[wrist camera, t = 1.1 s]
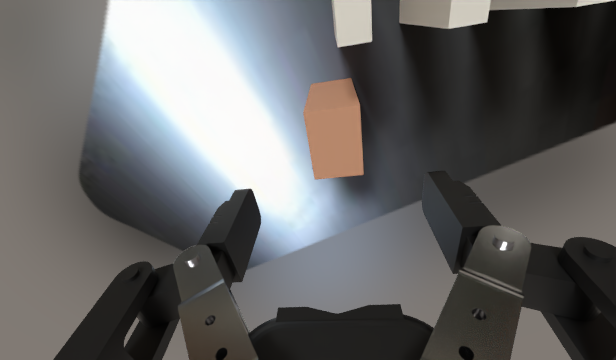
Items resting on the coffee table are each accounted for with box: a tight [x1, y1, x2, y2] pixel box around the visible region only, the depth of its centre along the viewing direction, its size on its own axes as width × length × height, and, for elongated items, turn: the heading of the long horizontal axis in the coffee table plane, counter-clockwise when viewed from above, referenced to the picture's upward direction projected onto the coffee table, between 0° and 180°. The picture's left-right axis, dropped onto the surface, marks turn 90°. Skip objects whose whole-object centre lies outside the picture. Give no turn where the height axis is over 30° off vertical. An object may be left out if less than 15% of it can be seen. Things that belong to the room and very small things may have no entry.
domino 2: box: [303, 78, 364, 179], centre depth 21 cm, size 4×5×8 cm
